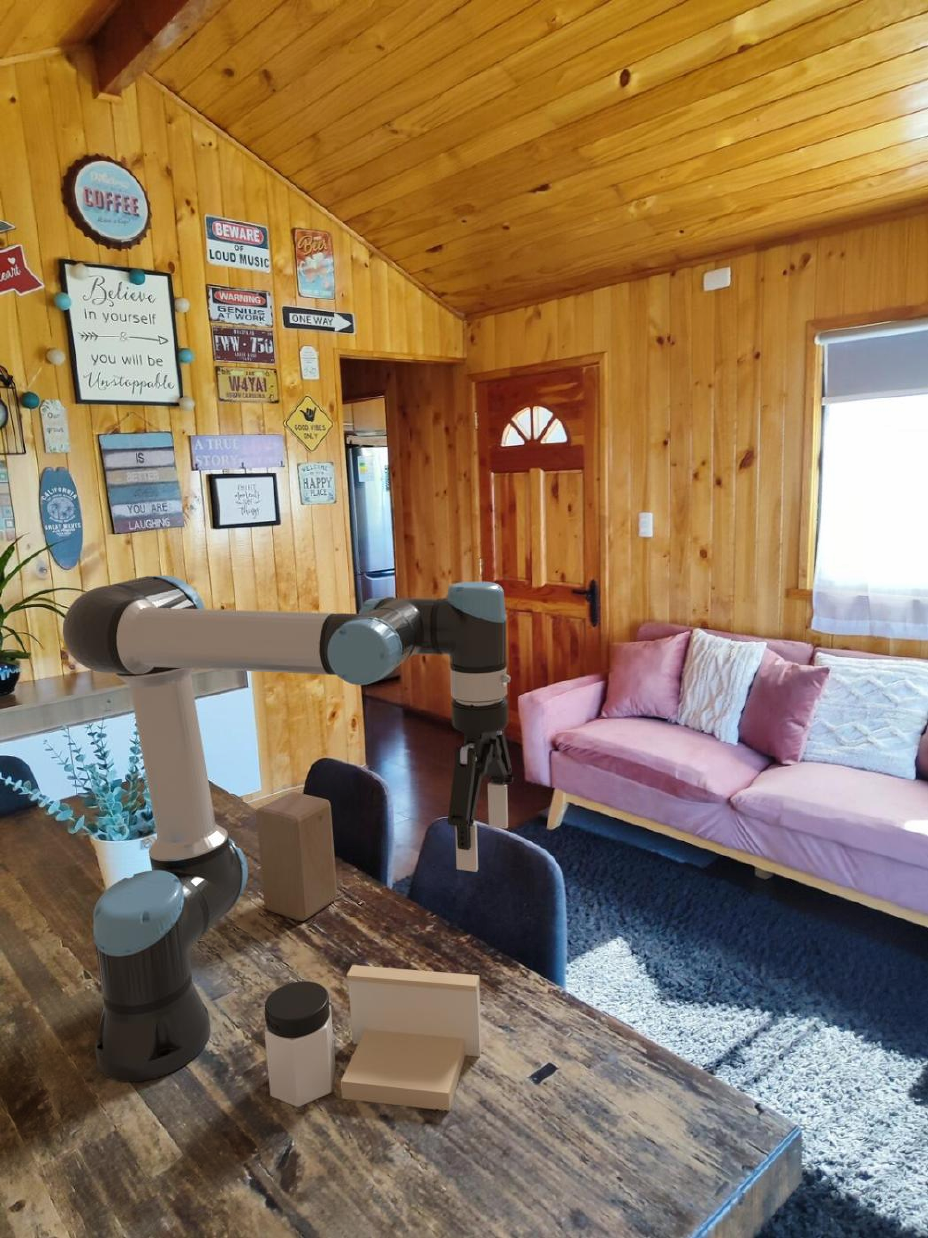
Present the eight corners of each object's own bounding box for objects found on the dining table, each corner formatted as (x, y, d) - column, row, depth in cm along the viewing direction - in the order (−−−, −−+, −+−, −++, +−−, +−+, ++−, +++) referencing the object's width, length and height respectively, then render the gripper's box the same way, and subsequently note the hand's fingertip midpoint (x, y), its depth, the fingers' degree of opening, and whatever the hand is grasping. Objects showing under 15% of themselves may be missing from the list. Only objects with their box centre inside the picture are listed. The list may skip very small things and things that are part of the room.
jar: (278, 1060, 112) (271, 980, 110) (338, 1056, 112) (332, 976, 110) (265, 1110, 103) (257, 1024, 101) (330, 1106, 103) (323, 1020, 101)
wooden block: (339, 899, 154) (332, 798, 151) (302, 925, 146) (293, 818, 142) (300, 887, 159) (292, 789, 156) (262, 911, 151) (253, 808, 148)
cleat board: (327, 1097, 105) (321, 1020, 103) (357, 1034, 116) (352, 965, 114) (465, 1113, 101) (461, 1034, 99) (482, 1047, 113) (479, 975, 111)
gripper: (475, 728, 97) (480, 894, 101) (531, 677, 120) (533, 814, 124) (417, 723, 99) (424, 886, 103) (482, 674, 122) (486, 808, 126)
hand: (483, 847), depth 113 cm, fingers open, 13 cm apart
